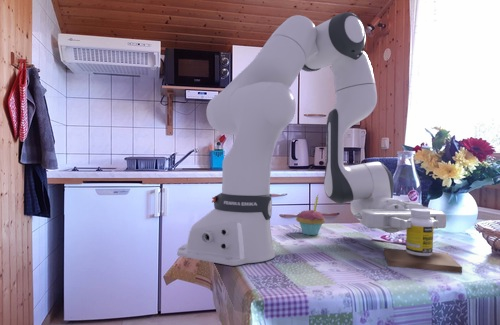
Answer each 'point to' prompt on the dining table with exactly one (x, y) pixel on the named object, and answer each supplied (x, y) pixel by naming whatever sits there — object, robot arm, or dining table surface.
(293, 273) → the dining table surface
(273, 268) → the dining table surface
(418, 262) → the serving board
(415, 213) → the supplement bottle
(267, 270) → the dining table surface
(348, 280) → the dining table surface
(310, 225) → the cupcake
